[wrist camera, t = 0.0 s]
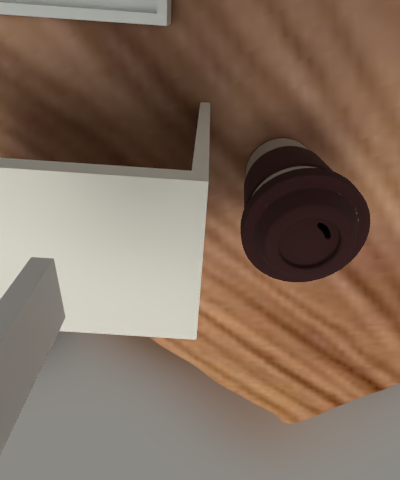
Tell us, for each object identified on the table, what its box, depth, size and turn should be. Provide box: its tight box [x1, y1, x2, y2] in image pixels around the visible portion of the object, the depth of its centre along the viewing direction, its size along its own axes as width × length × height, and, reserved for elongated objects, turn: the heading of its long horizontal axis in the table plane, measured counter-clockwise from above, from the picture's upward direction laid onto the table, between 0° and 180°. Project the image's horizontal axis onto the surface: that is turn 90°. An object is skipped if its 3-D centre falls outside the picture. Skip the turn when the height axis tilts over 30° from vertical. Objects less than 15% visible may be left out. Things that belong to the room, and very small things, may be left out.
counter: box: [0, 102, 210, 340], centre depth 31 cm, size 12×22×19 cm, turn 87°
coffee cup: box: [241, 138, 370, 282], centre depth 33 cm, size 10×10×15 cm
